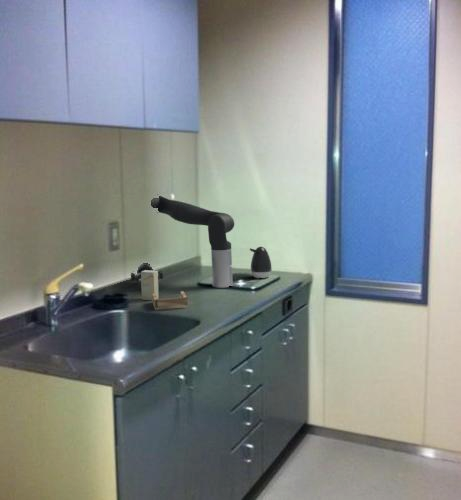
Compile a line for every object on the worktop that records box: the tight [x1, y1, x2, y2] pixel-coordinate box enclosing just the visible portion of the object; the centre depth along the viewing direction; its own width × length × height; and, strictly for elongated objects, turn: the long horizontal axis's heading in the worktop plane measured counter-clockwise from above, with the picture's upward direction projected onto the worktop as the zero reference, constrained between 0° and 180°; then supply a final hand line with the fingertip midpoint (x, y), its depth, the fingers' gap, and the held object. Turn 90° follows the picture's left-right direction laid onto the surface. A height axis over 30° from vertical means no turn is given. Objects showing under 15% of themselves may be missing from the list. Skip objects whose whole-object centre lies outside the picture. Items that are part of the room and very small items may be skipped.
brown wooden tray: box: [151, 290, 189, 311], centre depth 258 cm, size 13×13×4 cm
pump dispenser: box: [249, 246, 273, 279], centre depth 307 cm, size 10×10×15 cm
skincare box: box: [140, 270, 160, 301], centre depth 269 cm, size 6×4×12 cm
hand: (147, 279), depth 280 cm, fingers open, 8 cm apart
